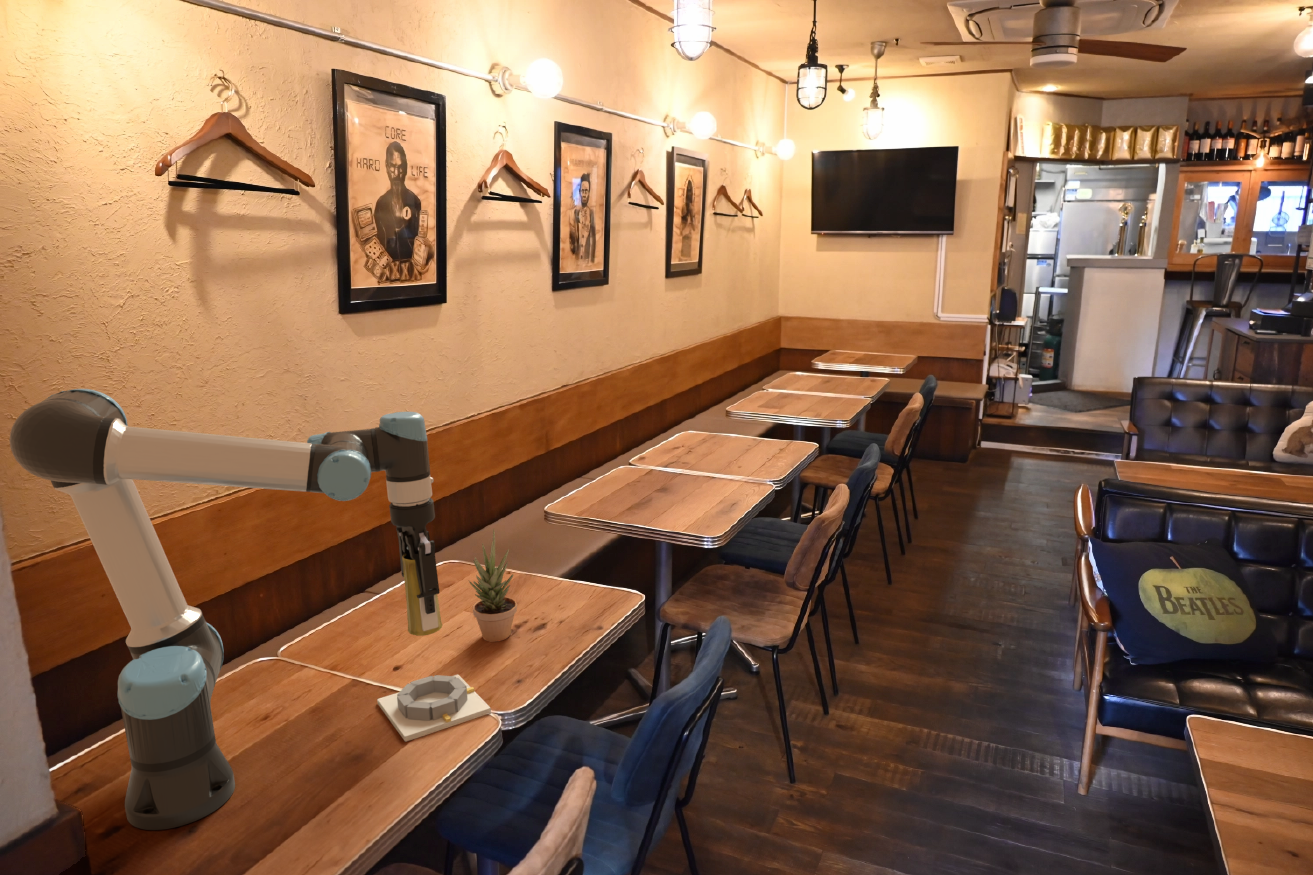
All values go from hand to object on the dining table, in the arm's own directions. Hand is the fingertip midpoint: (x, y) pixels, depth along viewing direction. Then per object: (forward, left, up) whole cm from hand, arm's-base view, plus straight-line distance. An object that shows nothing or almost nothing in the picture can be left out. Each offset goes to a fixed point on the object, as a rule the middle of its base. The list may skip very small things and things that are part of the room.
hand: (424, 622), depth 159 cm
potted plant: (+23, +22, -18) cm, 36 cm away
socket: (0, 0, -17) cm, 17 cm away
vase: (0, 0, -2) cm, 2 cm away
